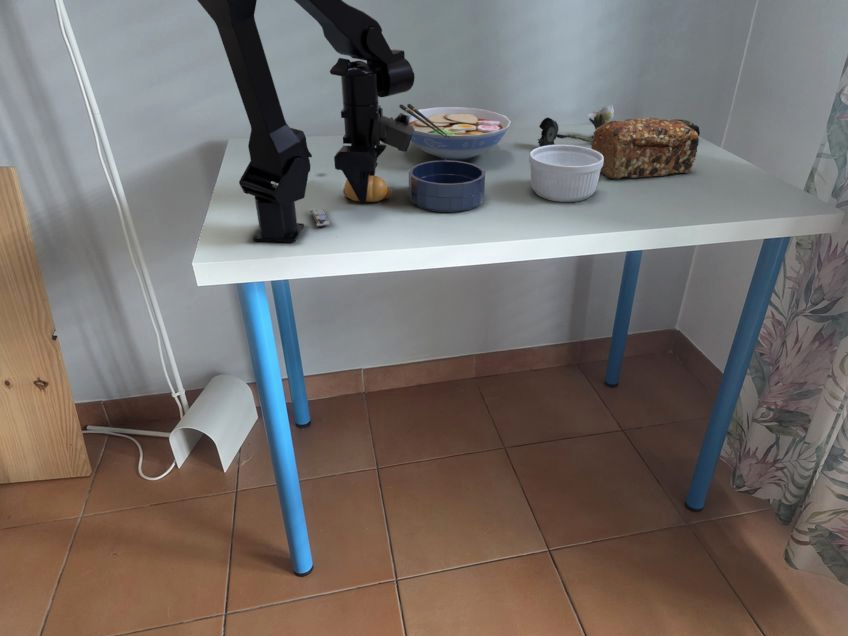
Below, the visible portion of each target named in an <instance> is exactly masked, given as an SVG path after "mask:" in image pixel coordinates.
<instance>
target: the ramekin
mask: <svg viewBox="0 0 848 636" xmlns="http://www.w3.org/2000/svg"><path fill="white" fill-rule="evenodd" d="M528 162H529V164H530V182H531V183H530V184H531V188H532V190H533V192H535V194H536V195H537V196H539V197H540V198H541V199H545V200H549V201H552V202H558V203H559V202H560V203H575V202H581V201H584V200H587V199H589V198H591V196H592V195H593V194H594V193H595V191H596V190H597V186H598V184H599V183H598V182H599V179H600V174H601V172H600V171H601V168H602V166H603V162H604V157H603V155H602V154H601V153H599V152H597V151H595V150H593V149H592V148H590V147H585V146H581V145H574V144H555V145H547V146H542V147H540V146H539V147H535V148H534V149H532V150H531V151H530V153H529V158H528Z"/></svg>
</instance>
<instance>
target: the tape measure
mask: <svg viewBox="0 0 848 636" xmlns="http://www.w3.org/2000/svg"><path fill="white" fill-rule="evenodd" d="M672 120H677V121H681V122H683V123H684V124H686V125H687V126H689V127H690V128H692V129H694V131H696V132H697V134H698V137H699V136H700V133H701V131H700V127H699V126H698V125H696V124H694V122H692V121H689V120H686V119H680V118H679V119H677V118H673V119H672Z"/></svg>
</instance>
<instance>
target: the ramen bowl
mask: <svg viewBox="0 0 848 636" xmlns="http://www.w3.org/2000/svg"><path fill="white" fill-rule="evenodd" d="M399 109H401V110H402V111H404V112H405V113H404V114H405V115H407V116H409V123H410V126H411V125H412V126H413V128H414V133H413V135H412V138H411V141H410V142H412V143H413V145H414V146H415V147H417V148H418V149H420V150H421V151H422V152H426V153H427V154H429V155H432V156H436V157H437V158H438V159H441V160H448V161H461V162H463V161H467V160H468V161H469V160H470V159H472V158H473V157H477V156H480V155H482V154H485V153H487V152H490V151H491V150H492V149H494V148H495V147H496V146H497V145H498V144H499V143H500V142H501V140H502V138H503V137H504V136H505V134H506V132H507V131H508V129H509V127H510V125H511V123H512V121H511V120H510V119H509V118H508V116H506V115H503V114H501V113H498V112H495V111H493V110H487V109H481V108H475V107H474V108H473V107H460V106H459V107H458V106H448V107H447V106H444V107H443V106H441V107H431V108H429V107H428V108H422V109H417V108H416V107H415V106H414V105H412V104H411V103H407V105H406V106H405V105H404V104H399Z"/></svg>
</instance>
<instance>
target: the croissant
mask: <svg viewBox="0 0 848 636" xmlns="http://www.w3.org/2000/svg"><path fill="white" fill-rule="evenodd" d="M342 193H343V195H344V196H345V197H346V198H348V199H350V200H351V201H353V202H360V201H359V200H358V198H357V196H356V194H355V192H354V190H353V189H352V187H351V185H350V183H349V181H348V180H347V179H346V181H345V183H344V187H343V189H342ZM392 194H393V192H392V189H391V187H389V186H387V183H386V181H385V179H383V178H382V177H380V176H378V175H374V176H369V183H368V191H367V199H366V203H367V202H369V203H370V202H372V203H376V202H380V201H382V200H388V199H390V198H391V197H392Z"/></svg>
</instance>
